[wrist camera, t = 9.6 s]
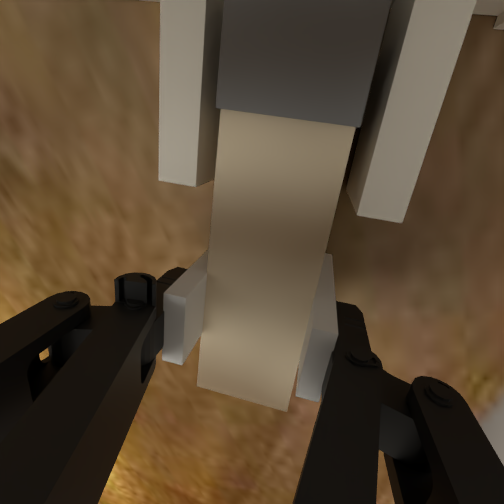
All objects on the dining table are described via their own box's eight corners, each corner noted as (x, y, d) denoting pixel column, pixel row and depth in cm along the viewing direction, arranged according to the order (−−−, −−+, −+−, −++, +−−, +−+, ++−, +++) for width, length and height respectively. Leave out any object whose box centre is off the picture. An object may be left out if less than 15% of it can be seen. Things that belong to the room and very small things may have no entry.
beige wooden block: (298, 340, 17) (288, 416, 12) (227, 322, 18) (192, 389, 13) (365, 51, 12) (393, -8, 7) (262, 40, 13) (225, -19, 8)
